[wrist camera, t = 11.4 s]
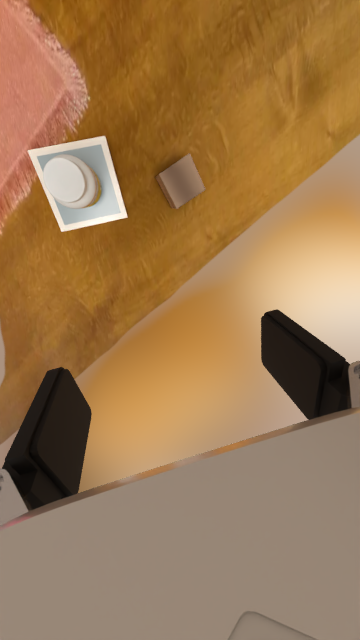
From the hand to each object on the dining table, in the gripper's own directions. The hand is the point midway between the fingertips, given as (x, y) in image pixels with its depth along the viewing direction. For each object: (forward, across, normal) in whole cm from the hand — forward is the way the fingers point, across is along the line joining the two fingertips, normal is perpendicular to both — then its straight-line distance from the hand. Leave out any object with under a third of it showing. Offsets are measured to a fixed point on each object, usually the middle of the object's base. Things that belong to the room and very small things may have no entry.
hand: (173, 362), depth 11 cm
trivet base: (+33, +6, -10) cm, 35 cm away
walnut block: (+34, -8, -8) cm, 35 cm away
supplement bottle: (+30, +6, -10) cm, 33 cm away
